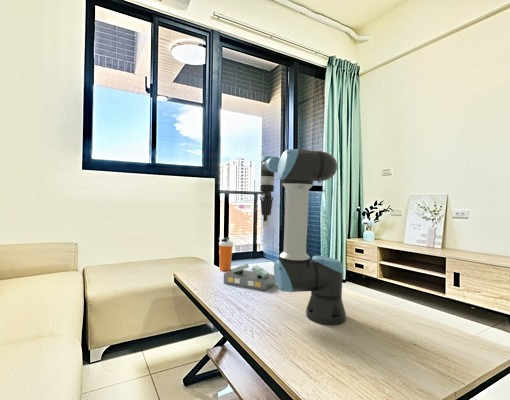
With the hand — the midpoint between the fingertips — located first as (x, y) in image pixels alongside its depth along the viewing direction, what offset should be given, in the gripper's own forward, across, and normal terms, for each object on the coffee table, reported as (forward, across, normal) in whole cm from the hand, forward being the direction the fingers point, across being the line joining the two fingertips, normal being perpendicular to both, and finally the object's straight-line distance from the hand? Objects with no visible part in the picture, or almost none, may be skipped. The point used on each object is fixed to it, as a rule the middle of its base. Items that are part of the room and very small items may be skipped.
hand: (265, 227), depth 154 cm
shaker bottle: (+31, +10, +32) cm, 45 cm away
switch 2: (+23, -8, -1) cm, 24 cm away
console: (+30, -8, +5) cm, 32 cm away
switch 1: (+23, -8, +11) cm, 26 cm away
